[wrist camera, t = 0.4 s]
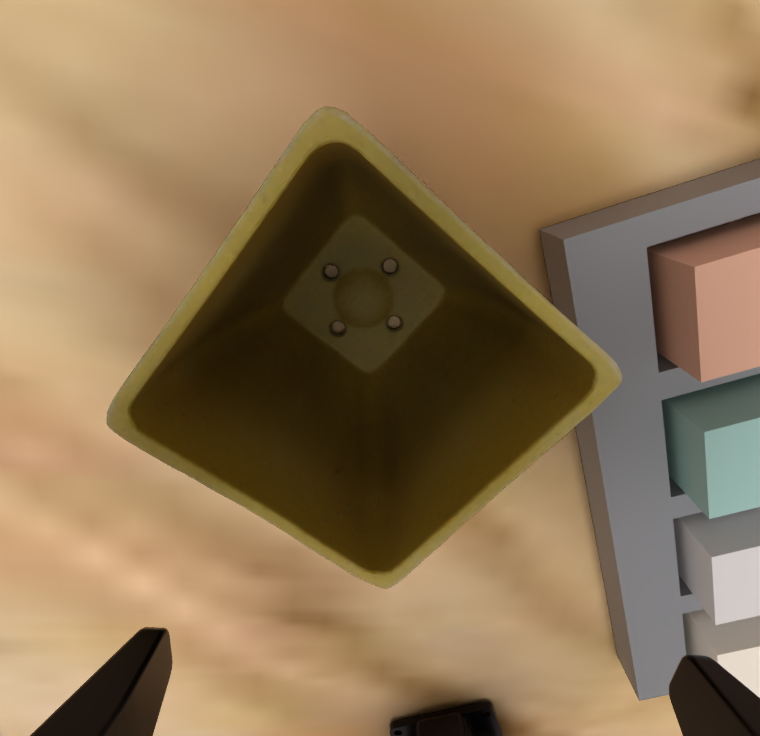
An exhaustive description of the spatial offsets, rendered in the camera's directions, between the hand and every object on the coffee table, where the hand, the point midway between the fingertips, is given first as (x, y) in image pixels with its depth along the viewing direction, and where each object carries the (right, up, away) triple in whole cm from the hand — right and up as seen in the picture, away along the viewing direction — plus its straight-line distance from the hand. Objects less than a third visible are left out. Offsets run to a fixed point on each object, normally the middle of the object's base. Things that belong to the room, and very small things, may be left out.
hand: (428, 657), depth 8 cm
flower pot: (-1, +8, +11) cm, 14 cm away
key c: (+13, +3, +12) cm, 18 cm away
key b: (+15, -2, +14) cm, 20 cm away
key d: (+11, +8, +9) cm, 17 cm away
